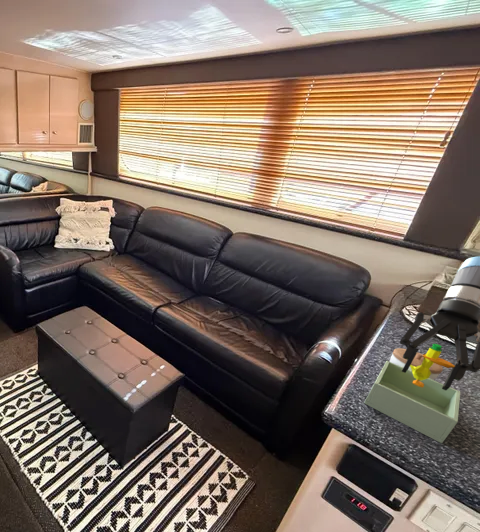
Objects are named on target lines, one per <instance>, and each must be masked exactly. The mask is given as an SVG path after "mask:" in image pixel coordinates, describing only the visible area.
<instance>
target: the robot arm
mask: <svg viewBox="0 0 480 532" xmlns="http://www.w3.org/2000/svg"><path fill="white" fill-rule="evenodd" d="M427 321H429V322H430V324H431V326H432V328H430V329H429V330H428V331H425V333H423V334H422V335H420V336H419V337H417V338H416V339H413V341H411V340H410V339H411V338H412V337H413V335H414V334H416V332H417V330H418V329H419V328H420V327H421V325H422V324H425V323H427ZM479 324H480V255H479V256H472V257H469V258H466V259H465V260H464V262H463V263H462V264H461V266H460V267H459V268H458V269H457V270H456V274H455V276H454V277H453V280H452V282H451V284H450V286H449V288H448V289H447V291H446V293H445V295H444V296H443V298H442V301H441V302H440V304H439V305H438V307H437V309H436V311H435V313H434V314H431V315H430V314H429V315H428V314H424V313H423V312H422V311H419V312H417V314H415V317H414V322H413V323H412V324H411V326H410V327H409V329H407V331H406V332H405V333H404V335H403V336H402V337H401V339H400V341H399V343H400V345H403V346H405V347H406V348H405V349H406V351H405V353H404V355H403V358H404V359H407V362H406V364H405V366H404V368H403V369H402V372H404V373H406V371H407V370H408V368H409V367H410V365H411V363H412V361H413V359H414V357H415V355H416V354H417V353H419V350H420V349H419V348H418V347H420V346H421V345H423V344H424V343H425V342H427V341H429V340H430V339H432V338H433V337H435V336H437V335H440V336H443V337H447V338H449V339H450V340H453V342H454V345H455V353H456V362H457V363H456V364H454V365H455V367H454V368H450V372H449V373H448V375H447V377H446V379H445V381H444V382H443V387H442V389H443V390H447V389H449V388H450V387H451V386H452V384H453V382H454V380H455V381H457V382H459V381H461V380H462V379H463V378H464V376H465V374H466V372H467V371H469V372H472V373H477V372H479V371H480V331H479V328H478V326H479ZM473 336H474V337H475V341H476V342H477V343H476V345H475V349H474V352H473V356H472V358H471V362H470V361H469V354H468V345H467V339H468V338H470V337H473Z"/></svg>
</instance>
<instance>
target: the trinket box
mask: <svg viewBox="0 0 480 532" xmlns="http://www.w3.org/2000/svg"><path fill="white" fill-rule="evenodd" d="M406 349H407V348H401V347H400V348H398V347H397V348H395V349H393V350H392V354H391V356H390V358H389V360H388V361H389V362H392V363H394V364H396V365H399V366H401V367H403V368H404V366H405V364H406V362H407V359H404V358H403V355H404V353H405V351H406ZM423 354H424V353H420V352H417V354H416V355H415V357H414V359H413V361H412V363H411V365H412V366H414V367H417V366H420V365H421V364H422V362H423V359H424V357H422V356H423ZM429 369H430V372H431V375H430V376H429V379H432V380H434V381H436V380H437V378H438V377H439V376H440V374H441V373H442V372H443V371H444V367H443V366H441V365H438V364H436V363H434V364H433V365H432V366H431V367H430V368H429ZM408 370H410V371H412V370H411V367H409V368H408Z"/></svg>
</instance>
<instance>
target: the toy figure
mask: <svg viewBox="0 0 480 532" xmlns="http://www.w3.org/2000/svg"><path fill="white" fill-rule="evenodd" d="M442 348H443V346H442V345H441V344H437V343H432V346H430V347H429V348H428V350H427V352H426V353H422V354H423V356H422V357H424V359H423V362H422V364H421V365H420V366H417V367H414V366H412V365H410V367H411V370H412V373H413V376H414V378H416V379H417V380H415V381H413V384H415V385H417V386H419V387H422V388H423V387H424V384H423V383H422V382H420V381H421V380H425V379H428V378H429V376H430V375H431V372H430V369H429V368H430V367H431V366H432V365H433V364H434V363H436V364H438V365H441V366H442V368H446V369H452V368H454V367H455V365H456V364H453V363H452V362H450V361H448V360H446V359H444V358H442V357H440V355H441V354H442V352H443V349H442ZM419 380H420V381H419Z"/></svg>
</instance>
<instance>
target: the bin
mask: <svg viewBox="0 0 480 532" xmlns="http://www.w3.org/2000/svg"><path fill="white" fill-rule="evenodd" d="M389 361H390V360H386V361H385V363H384V364H383V367H382V368H381V370H380V372H379V374H378V376H377V377H376V379H375V381H374V383H373V385H372V387H371V389H370V390H369V392H368V394H367V396H366V398H365V400H364V402H363V404H364V405H366V406H368V407H370V408H372V409H374V410H376V411H378V412H380V413H382V414H384V415H386V416H388V417H389V418H391V419H393V420H396V421H398V422H399V423H401V424H403V425H405V426H407V427H409V428H411V429H413V430H415V431H416V432H419V433H421V434H423V435H425V436H427V437H428V438H431V439H432V440H435V441H436V442H438V443H440V444H443V443H444V442H445V440H446V439H447V438H448V436H449V435H450V433H451V432H452V431H453V429H454V428H455V426H456V425H457V424H458V422H459V412H460V401H461V391H460V390H457V389H455V388H453V387H451V386H450V388H449V389H447V390H443V389H442V387H443V385H444V383H441V382H439V381H437V380H432V379H429V378H428V379H425V380H421V381H420V380H419V381H420V382H422V383H423V384H424V387H423V388H422V387H419V386H417V385H415V384H413V381H415V380H417V379H416V378H414V376H413V373H412V371H410V370H407V371H406V373H404V372H402V369H403V367H401V366H399V365H396V364H394V363H392V362H389Z"/></svg>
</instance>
